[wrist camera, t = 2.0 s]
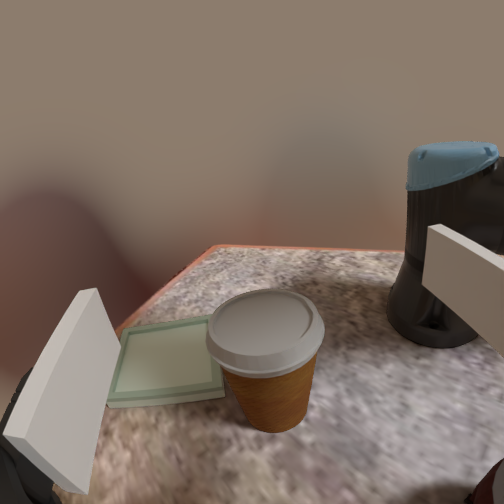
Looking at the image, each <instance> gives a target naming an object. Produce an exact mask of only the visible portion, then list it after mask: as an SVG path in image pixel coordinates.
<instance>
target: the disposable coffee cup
mask: <svg viewBox="0 0 504 504" xmlns="http://www.w3.org/2000/svg"><path fill="white" fill-rule="evenodd" d="M324 333H325V328H324V322H323V320H322V317H321V316H320V315H319V313H318V311H317V309H316V307H315V305H314V304H313V303H312V301H311V300H309V299H308V298H307V297H305V296H303V295H301V294H299V293H296V292H292V291H289V290H284V289H262V290H255V291H250V292H246V293H243V294H240V295H238V296H235V297H233V298H231V299H229V300H227V301H226V302H224V303H223V304H222V305H220V306H219V307H218V308H217V309H216V310H215V312H214V313H213V314H212V316H211V317H210V321H209V324H208V331H207V333H206V341H205V342H206V346H207V350H208V352H209V354H210V355H211V356H212V358H213V359H214V360H215V361H216V363H218V364H219V365H220V366H221V368H222V370H223V372H224V375H225V376H226V379H227V380H228V383H229V384H230V387H231V388H232V391H233V392H234V394H235V396H236V398H237V400H238V402H239V404H240V406H241V407H242V409H243V411H244V413H245V415H246V417H247V419H248V421H249V422H250V423H251V424H252V425H253V426H254V427H255V428H257V429H259V430H261V431H264V432H270V433H278V432H284V431H287V430H289V429H291V428H293V427H295V426H296V425H298V424H299V423H300V422H301V421H302V420H303V418H304V416H305V414H306V411H307V406H308V401H309V395H310V390H311V385H312V379H313V374H314V367H315V362H316V356H317V350H318V348H319V347H320V345H321V343H322V340H323V337H324Z"/></svg>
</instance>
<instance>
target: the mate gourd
mask: <svg viewBox="0 0 504 504" xmlns="http://www.w3.org/2000/svg"><path fill="white" fill-rule="evenodd" d="M464 502H465V503H466V504H504V458H503V459H502V460H500V461H499V462H498V463H497V464H495V465H494V466H493V467H492V468H491V470H490V471H489V472H488V473H487V474H486V476H485V477H484V478H483V479H482V480H481V481H480V483H479V484H478V485H477V486H476V488H475V490H474V492H473V494H469V495H468V496H467V498H466V499H465V501H464Z"/></svg>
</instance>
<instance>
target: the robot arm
mask: <svg viewBox="0 0 504 504" xmlns="http://www.w3.org/2000/svg"><path fill="white" fill-rule="evenodd" d="M407 177H408V178H407V183H406V189H407V190H408V200H407V206H408V207H407V228H406V242H405V256H404V261H403V264H402V266H401V269H400V271H399V273H398V276H397V278H396V281H395V283H394V284H393V286H392V288H391V290H390V292H389V295H388V303H387V316H388V319H389V321H390V323H391V324H392V326H393V327H394V328H395V329H396V330H397V331H398V332H399V333H400V334H402V335H403V336H405V337H406V338H408V339H410V340H412V341H414V342H416V343H419V344H422V345H426V346H430V347H438V348H448V347H456V346H460V345H463V344H465V343H467V342H469V341H471V340H472V339H474V338H475V337H476V336H477V335H478V334H479V335H480V336H481V337H482V338H484V339H485V340H486V341H487V342H488V343H489V344H490V345H491V346H492V347H493V348H494V349H495V350H496V351H497V352H498V353H499V354H500V355H501V356H502V357H503V358H504V259H503V258H502V257H500V256H498V255H504V157H500V156H499V152H498V150H497V147H496V145H495V144H492V143H487V142H473V141H460V142H459V141H458V142H443V143H434V144H428V145H423V146H419V147H417V148H415V149H414V150H413V151H412V152H411V153H410V155H409V158H408V175H407ZM497 254H498V255H497ZM120 350H121V345H120V343H119V341H118V338H117V336H116V334H115V332H114V330H113V327H112V325H111V323H110V320H109V318H108V316H107V313H106V311H105V309H104V306H103V303H102V301H101V298H100V296H99V293H98V290H97V288H94V289H87V290H81V291H79V292H78V294H77V296H76V297H75V298H74V300H73V301H72V303H71V305H70V306H69V308H68V309H67V311H66V312H65V314H64V316H63V317H62V319H61V321H60V322H59V324H58V326H57V327H56V329H55V331H54V332H53V334H52V336H51V337H50V339H49V341H48V343H47V344H46V346H45V348H44V350H43V352H42V353H41V355H40V357H39V359H38V361H37V363H36V364H35V366H34V368H31V369H30V370H29V371H28V372H27V373H26V374H25V375H24V376H23V378H22V379H21V381H20V383H19V385H18V387H17V388H16V393H14V394H13V397H12V399H11V403H9V405H8V407H7V409H6V411H5V413H4V415H3V418H2V420H1V422H0V504H62V502H61V501H60V499H59V497H58V496H57V494H56V493H55V492H54V491H53V490H52V487H53V483H56V484H57V485H58V486H59V487H61V488H62V489H63V490H65V491H66V492H72V493H78V494H84V495H88V490H89V484H90V478H91V472H92V466H93V461H94V455H95V450H96V445H97V440H98V436H99V431H100V426H101V422H102V418H103V413H104V409H105V405H106V401H107V397H108V393H109V389H110V385H111V381H112V378H113V374H114V370H115V367H116V363H117V360H118V356H119V353H120Z"/></svg>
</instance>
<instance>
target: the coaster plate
mask: <svg viewBox="0 0 504 504" xmlns="http://www.w3.org/2000/svg"><path fill="white" fill-rule="evenodd" d="M211 316H212V314H211V315H205V316H199V317H194V318H188V319H182V320H176V321H170V322H164V323H157V324H151V325H144V326H138V327H131V328H124V329H123V332H122V335H121V338H120V342H119V343H120V345H121V350H120V353H119V356H118V360H117V363H116V367H115V370H114V374H113V378H112V381H111V385H110V389H109V393H108V397H107V401H106V404H107V405H108V407H109V408H131V407H146V406H158V405H168V404H177V403H186V402H194V401H201V400H208V399H215V398H221V397H225V390H224V381H223V373H222V368H221V366H220V365H219V364H218V363H216V361H215V360H214V359H213V358H212V356H211V355H210V354H209V352H208V350H207V346H206V342H205V341H206V333H207V331H208V324H209V321H210V317H211Z"/></svg>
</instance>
